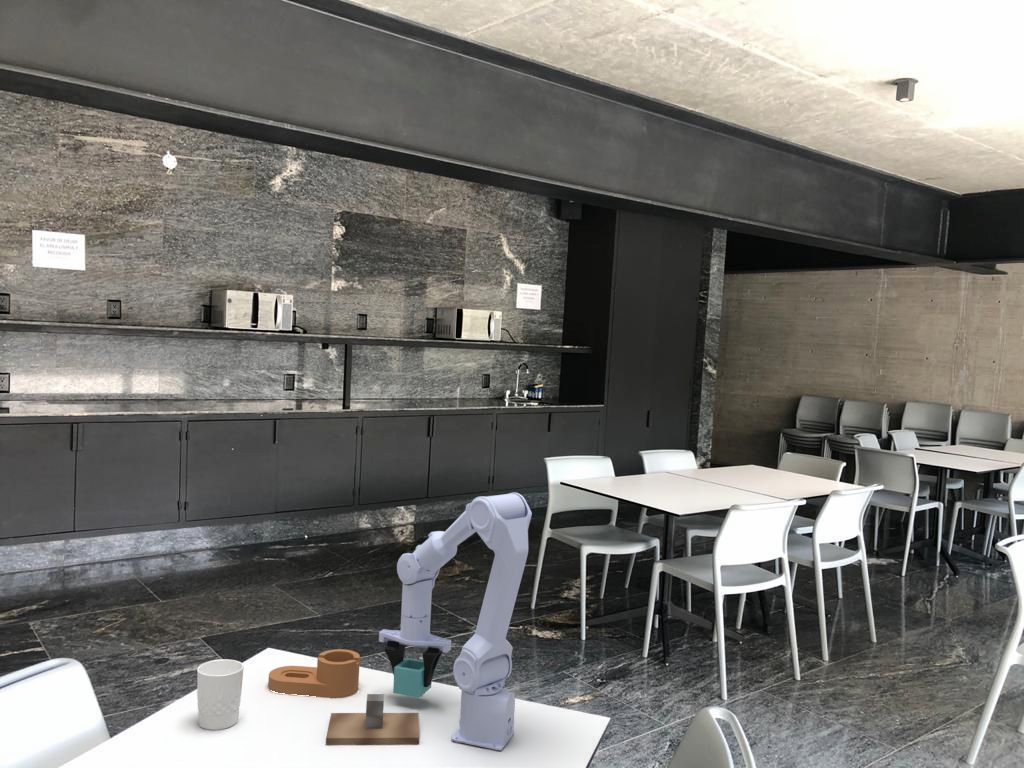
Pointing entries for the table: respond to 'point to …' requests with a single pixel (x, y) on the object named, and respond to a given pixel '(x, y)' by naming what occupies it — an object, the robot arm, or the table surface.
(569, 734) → the table surface
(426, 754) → the table surface
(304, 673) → the bracket
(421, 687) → the teal collar
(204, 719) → the white cup
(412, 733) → the post stand
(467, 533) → the robot arm
